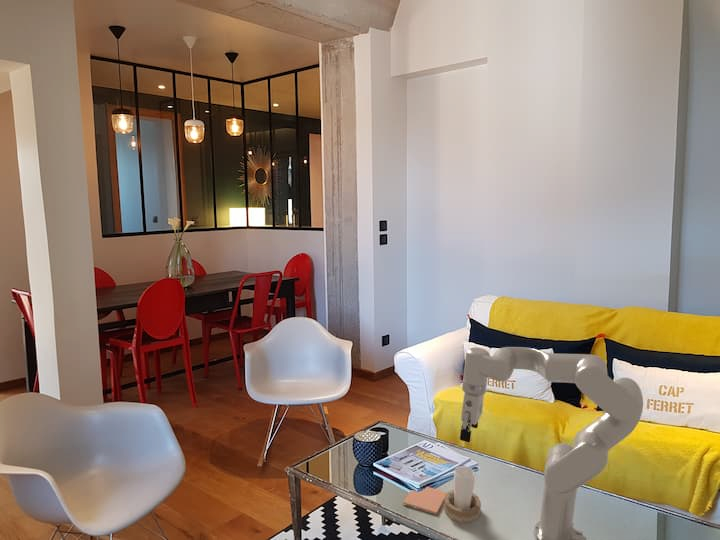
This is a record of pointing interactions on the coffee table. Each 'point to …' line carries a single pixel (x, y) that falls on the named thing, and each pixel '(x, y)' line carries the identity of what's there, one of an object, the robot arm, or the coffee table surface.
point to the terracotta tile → (426, 499)
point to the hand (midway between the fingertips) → (468, 433)
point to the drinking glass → (463, 487)
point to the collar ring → (460, 514)
